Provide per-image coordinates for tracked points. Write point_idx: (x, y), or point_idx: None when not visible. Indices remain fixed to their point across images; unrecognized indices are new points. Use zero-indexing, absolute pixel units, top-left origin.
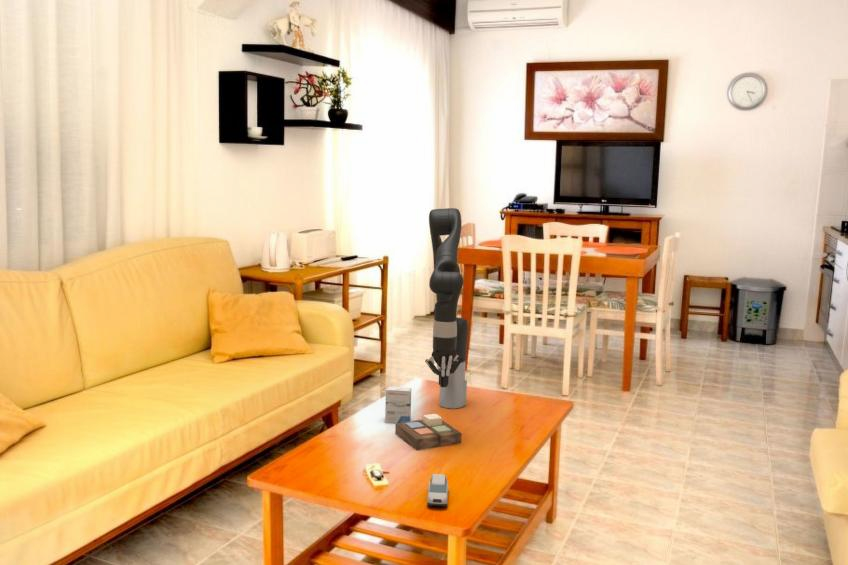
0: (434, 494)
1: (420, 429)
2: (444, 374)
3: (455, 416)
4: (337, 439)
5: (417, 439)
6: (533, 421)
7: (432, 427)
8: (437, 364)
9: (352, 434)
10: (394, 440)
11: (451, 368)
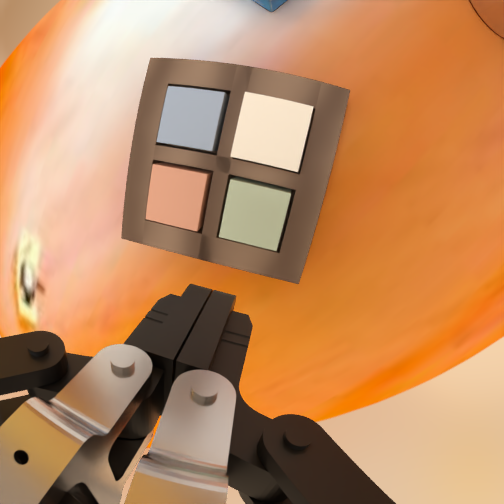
0: None
1: (173, 176)
2: (147, 436)
3: (461, 67)
4: (36, 57)
5: (124, 238)
6: None
7: (229, 185)
8: (9, 441)
9: (74, 33)
10: (129, 119)
11: (317, 476)
